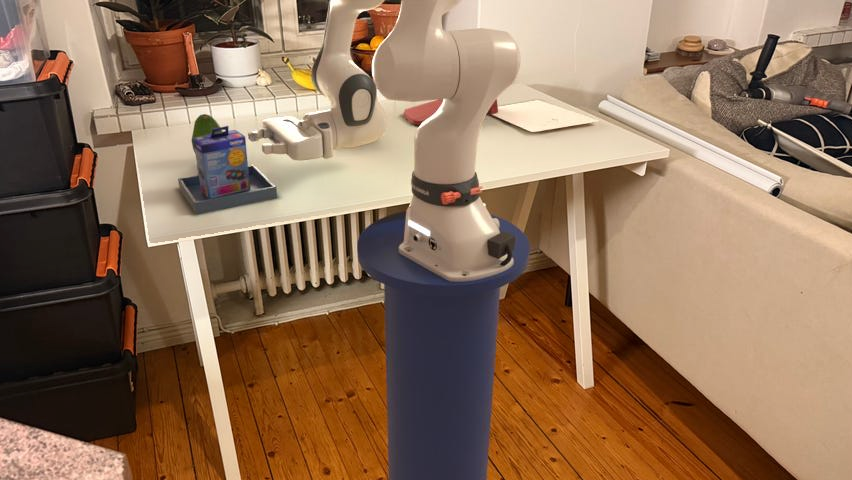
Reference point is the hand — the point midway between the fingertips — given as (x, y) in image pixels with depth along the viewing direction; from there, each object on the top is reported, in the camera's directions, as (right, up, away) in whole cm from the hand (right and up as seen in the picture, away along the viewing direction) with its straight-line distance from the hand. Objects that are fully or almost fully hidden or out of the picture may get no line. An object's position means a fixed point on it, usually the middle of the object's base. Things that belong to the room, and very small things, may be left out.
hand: (255, 143), depth 148 cm
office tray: (-6, -10, +2) cm, 12 cm away
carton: (+46, +16, +48) cm, 69 cm away
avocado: (-14, -2, +19) cm, 23 cm away
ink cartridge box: (-7, -10, +2) cm, 12 cm away
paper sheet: (+70, +16, +46) cm, 85 cm away
